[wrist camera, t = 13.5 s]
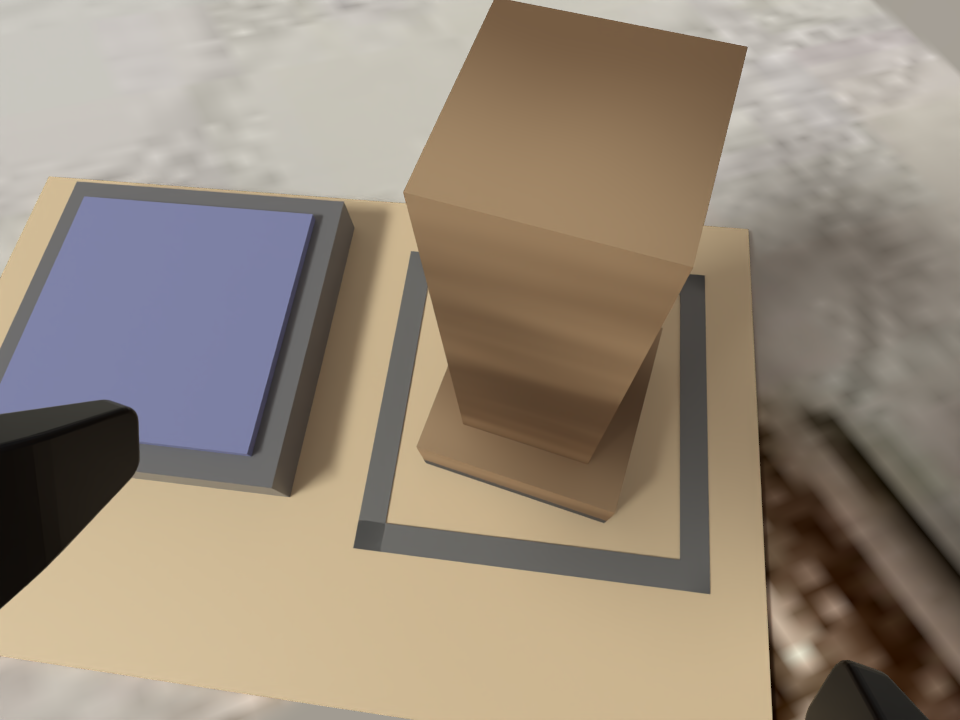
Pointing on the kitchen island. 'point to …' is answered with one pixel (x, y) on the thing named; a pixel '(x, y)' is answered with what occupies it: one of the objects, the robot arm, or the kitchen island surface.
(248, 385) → the ink pad
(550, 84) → the walnut stamp
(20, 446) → the robot arm
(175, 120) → the kitchen island surface
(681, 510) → the board
